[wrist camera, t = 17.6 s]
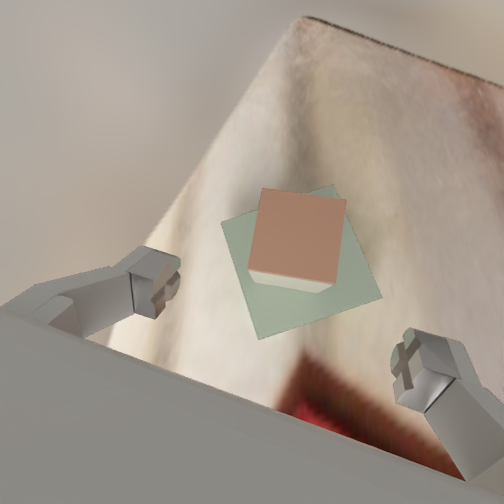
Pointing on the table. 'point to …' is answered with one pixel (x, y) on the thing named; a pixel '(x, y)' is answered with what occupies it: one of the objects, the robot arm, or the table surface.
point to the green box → (297, 301)
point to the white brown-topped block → (296, 240)
